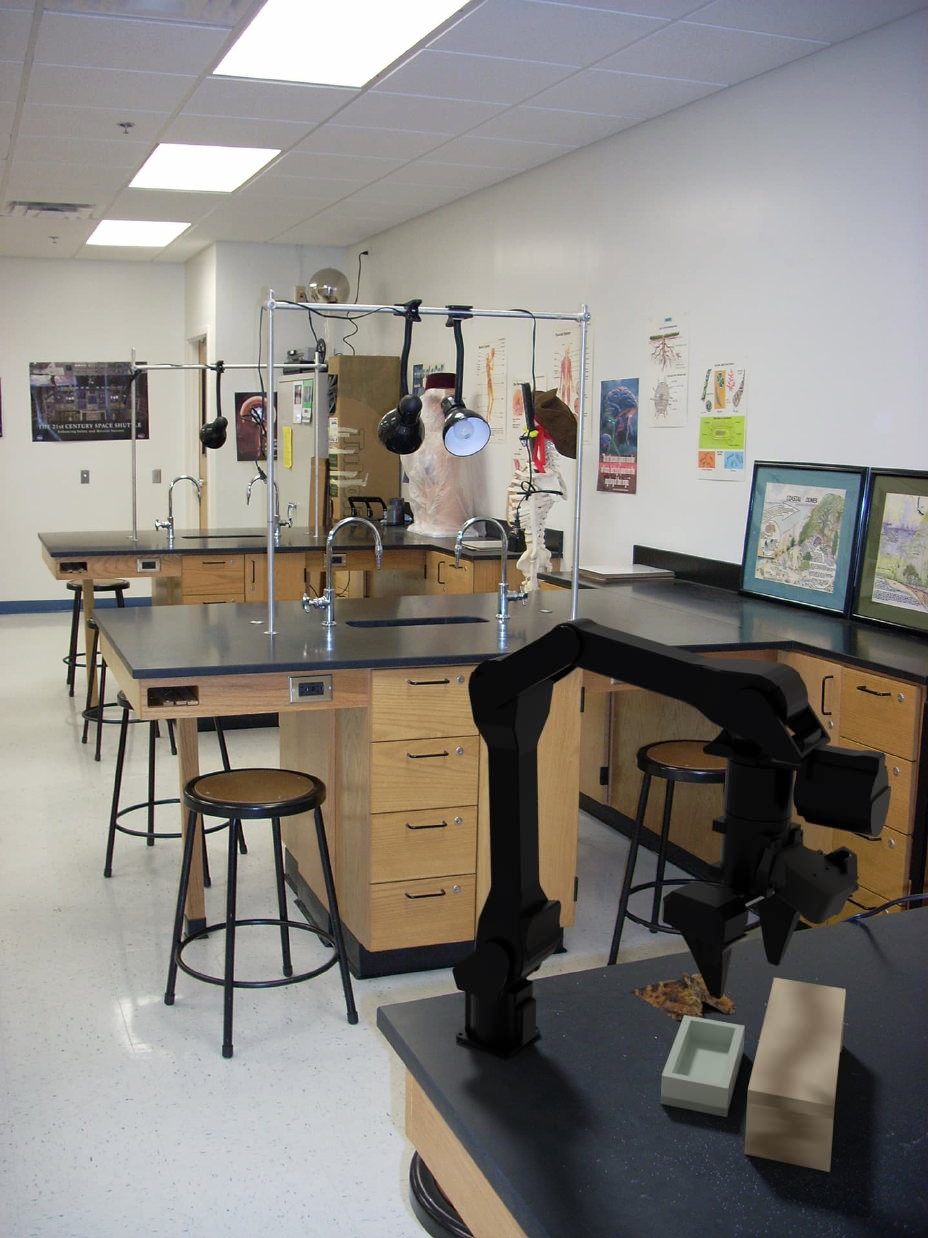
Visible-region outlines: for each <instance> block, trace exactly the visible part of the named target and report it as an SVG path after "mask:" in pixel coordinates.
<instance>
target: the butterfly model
mask: <svg viewBox="0 0 928 1238" xmlns="http://www.w3.org/2000/svg"><path fill="white" fill-rule="evenodd" d="M680 974H681V977H682V978H679V979H672V980H662V981H658V982H655V983H650V984H646V985H644V986H641V987H639V988H636V989H634V990H632V991H629V993H630V994H633V995H637V996H639V998H641V999H643V1000H644V1001H646V1002H647V1003H649V1004H651V1005H652V1007H655V1008H658V1009H660V1010H661V1011H662V1012H663V1013H665V1014H666V1015H667V1016H668V1017H670V1019H672V1020H675V1021H679V1022H680V1021H682V1020H683V1017H684V1015H687V1016H692V1017H698V1018H703V1019H704V1016H703V1013H702V1012H703V1009H702V1008H703V1003H702V1002H705V1003H707V1004H708V1005H710V1006H712V1007H713V1008H714V1009H716V1010H717V1009H718V1010H719V1011H720V1012H721V1013H723V1014H725V1015H734V1014H735V1013H736V1010H738V1007H737V1006H736V1005H735V1003H734V1002H733V1001H732V1000H731V999H730V998H728V997H727V996H726V995H725V993H724V994H723V997H722V998H721V999H716V998H714V997H712V996H710V994H709V992H708V990H707V988H706V985H705V983H704V981H703V979H702V976H701V974H700V973H694V974H692V975H690V973H688V972H687V971H686V972H682V971H681V972H680Z"/></svg>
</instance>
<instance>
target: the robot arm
mask: <svg viewBox="0 0 928 1238" xmlns="http://www.w3.org/2000/svg"><path fill="white" fill-rule="evenodd" d="M577 669H582V670H584V671H588V672H590V673H594V674H597V675H600V676H603V677H607V678H609V679H612V680H615V681H619V682H621V683H625V684H628V685H631V686H634V687H637V688H640V689H643V690H646V691H649V692H652V693H655V694H658V695H661V696H665V697H667V698H670V699H674V700H677V701H679V702H682V703H685V704H686V705H689V706H690V707H692V708H693V709H696V710H697V712H698V713H700V714H701V715H702V716H703V718H706V719H707V720H708V721H709V722H710V723H712V724H714V725H716V726H717V727H719V728H721V730H720V732H719V734H718V735H717V736H716V737H715V738H714V739H713V740H712V741H710V742H709V743H707V744H705V745H704V746H703V747H702V753H703V754H705V755H709V756H714V757H717V758H718V757H719V758H725V759H726V766H725V779H724V794H723V796H724V797H723V811H722V813H723V814H722V816H719V817H716V818H715V817H714V818H713V819H712V823H711V824H712V825H711V831H712V832H716V833H719V834H720V835H721V843H720V855H719V856H720V859H719V860H718V861H715V862H712V863H710V864H709V874H708V876H710V877H713V878H715V879H718V880H720V881H721V884H722V885H723V886H724V887H722V888H717V887H715V886H712V885H710V884H706V883H703V882H702V881H701V882H700V881H698V880H694V881H692V882H689V883H687V884H685V885H683V886H681V887H678V888H676V889H673V890H672V891H670V892H669V893H667V894H666V895H665V896H663V897H662V904H661V905H662V906H661V920H662V923H663V924H666V925H668V926H671V928H672V929H673V930H676V931H679V933H680V934H681V936H682V938H683V940H684V942H685V944H686V946H687V948H688V949H689V951H690V954H691V955H692V957H693V960H694V962H695V965H696V968H697V969H698V971H699V974H701V976H702V979H703V981H704V983H705V985H706V988H707V990H708V992H709V994H710V996H712V997H714V998H716V999H721V998H722V997H723V994H724V995H725V989H726V986H727V980H728V974H729V969H730V963H731V957H732V951H733V947H734V946H735V945H737V944H738V943H740V942H742V941H743V940H744V939H746V938H747V937H748V933H745V932H744V931H745V930H746V927H747V925H748V923H749V913H750V911H749V908H748V907H749V906H751V905H752V904H755V903H756V904H757V905H756V906H757V910H758V911H757V912H758V917H759V923H760V929H761V937H762V942H763V943H762V944H763V948H764V952H765V956H766V961H767V963H768V964H771V965H772V966H775V967H778V966H780V965H781V964H782V961H783V959H784V957H785V954H786V951H787V949H788V946H789V944H790V942H791V940H792V936H793V934H794V932H795V929H796V927H797V925H798V923H799V920H800V919H801V917H802V918H803V919H805V920H806V921H808V922H810V923H811V924H814V925H822V924H824V923H825V922H827V920H828V919H830V918H833V917H834V916H838V915H840V914H841V913H842V911H843V909H844V906H845V905H846V903H847V900H848V898H850V897H849V896H850V895H852V894H853V893H856V892H858V891H859V888H860V886H859V883H858V881H859V878H860V876H859V875H858V869H859V868H858V855H857V854H856V853H855V852H853V851H852V850H850V849H849V848H848V847H846V846H844V845H842V846H840V847H838V848H836V849H834V850H831V851H830V852H829V853H824V851H823V850H822V849H820V848H819V849H816V850H814V849H812V848H808V847H807V846H805V844H804V829H802V823H801V824H800V823H797V822H794V821H792V819H793V818H792V816H793V806H794V807H795V809H796V815H797V816H798V817H802V818H803V819H804V821H805V823H807V824H810V825H815V826H819V827H825V828H829V829H834V830H838V831H843V832H849V833H852V834H858V835H862V836H867V837H871V838H878V837H879V836H880V834H881V833H882V831H883V829H884V827H885V824H886V820H887V816H888V813H889V809H890V807H889V806H890V804H891V803H890V802H891V794H892V786H891V785H889V783H890V782H889V781H890V779H889V773H888V769H887V768H886V767H885V766H886V757H887V756H886V754H885V753H884V751H883V752H882V751H878V750H877V751H876V750H870V749H866V750H865V749H864V750H857V749H851V748H845V747H842V746H841V747H839V746H834V745H828V744H829V743H831V736H830V735H829V734H828V732H827V730H826V728H825V727H824V725H823V724H822V722H821V720H820V718H819V717H818V716H817V715H818V714H817V713H816V712H815V711H814V709H813V707H812V705H811V704H810V703H809V693H808V689H807V686H806V683H805V682H804V681H805V680H803V678H802V677H801V674H800V672H799V671H797V670H796V669H795V668H794V667H792V666H790V665H788V664H787V663H783V662H777V661H776V662H775V661H769V660H762V659H761V660H758V659H753V658H752V659H751V658H750V659H749V658H724V657H723V658H720V657H710V656H705V655H701V654H698V653H695V652H691V651H688V650H685V649H682V648H678V647H675V646H671V645H669V644H665V643H661V642H658V641H656V640H651V639H649V638H645V637H642V636H638V635H635V634H632V633H628V632H626V631H622V630H619V629H615V628H612V627H609V626H605V625H601V624H599V623H597V622H596V621H594V620H592V619H591V618H587V617H580V618H576V619H572V620H568V621H564V622H562V623H558V624H556V625H555V626H553V627H552V628H551V629H550V630H549V631H548V632H546V633H545V634H544V635H542V636H541V637H539V638H538V639H536V640H533V641H532V642H530V643H528V644H526V645H525V646H523V647H522V648H519V649H518V650H516V651H513V652H511V653H506V654H503V655H500V656H497V657H494V658H490V659H487V660H485V661H483V662H480V663H479V664H478V665H477V666H476V667H475V668H474V669H473V671H471V672H470V674H469V678H468V683H467V690H468V696H469V703H470V707H471V708H470V709H471V713H472V720H473V723H474V725H475V726H476V728H477V730H478V732H479V734H480V735H481V738H482V740H483V741H484V743H485V744H486V749H487V769H488V770H487V771H488V772H487V775H488V780H487V781H488V811H489V812H488V815H489V817H488V819H489V825H488V826H489V858H490V859H489V863H490V864H489V865H490V869H489V870H490V887H489V891H488V893H487V896H486V899H485V901H484V905H483V907H482V909H481V912H480V915H478V916H479V917H478V919H477V925H476V926H477V928H476V934H475V935H476V936H475V943H474V951H472V953H470V955H468V956H467V957H465V958H464V959H462V960H461V961H460V962H459V963H458V964H457V965H455V966H454V967H453V968H452V970H451V972H452V976H453V979H454V980H453V981H454V982H455V986H456V989H457V990H459V991H461V992H464V1027H463V1028H461V1029H460V1030H458V1031H457V1032H456V1033H455V1040H456V1041H459V1042H461V1043H465V1044H467V1045H470V1046H472V1047H476V1048H478V1049H480V1050H484V1051H486V1052H489V1053H491V1054H494V1055H496V1056H499V1057H502V1058H510V1057H512V1056H513V1055H514V1054H516V1053H517V1052H518V1051H519V1050H520V1049H522V1048H523V1047H524V1046H525V1045H527V1044H528V1043H530V1041H532V1040H533V1039H534V1038H536V1036H537V1037H538V1035H539V1034H540V1033H541V1027H540V1026H538V1025H537V999H536V998H535V997H534V996H533V995H534V982H533V980H530V979H528V977H529V976H531V975H532V974H533V973H535V972H538V971H539V970H540V969H541V967H542V964H543V962H544V961H546V960H547V959H548V958H549V957H551V956H552V954H553V953H555V951H556V949H557V947H558V946H557V945H558V942H559V941H560V940H561V939H563V938H564V934H563V932H562V928H561V922H560V921H561V912H562V902H561V901H560V900H557V899H549V898H548V897H547V894H546V892H545V891H544V889H543V888H542V886H541V882H540V881H541V880H540V845H539V844H540V840H539V839H540V837H539V833H540V832H539V829H540V827H539V776H538V774H539V773H538V768H539V767H538V744H539V741H540V738H541V735H542V733H543V731H544V729H545V726H546V724H547V721H548V718H549V717H550V712H551V706H552V698H553V692H554V685H555V684H557V683H558V682H560V681H562V680H563V679H565V678H567V677H568V676H569V675H571V673H573V672H574V671H576V670H577ZM788 730H789V731H791V732H792V733H793V734H792V735H791V734H790V732H789V731H788Z"/></svg>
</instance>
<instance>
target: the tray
mask: <svg viewBox="0 0 928 1238" xmlns="http://www.w3.org/2000/svg"><path fill="white" fill-rule="evenodd" d="M745 1027H746V1026H745V1025H744V1024H742V1025H741V1024H737V1023H730V1022H727V1021H726V1022H724V1021H720V1020H714V1019H707V1018H704V1017H703V1018H698V1017H692V1016H687V1015H684V1017H683V1020H681V1023H680V1026H679V1028H678V1031H677V1033H676V1036H675V1038H674V1041H673V1044H672V1047H671V1050H670V1052H669V1055H668V1058H667V1061H666V1062H665V1063H666V1064H665V1066H664V1068H663V1071H662V1074H661V1082H660V1083H661V1086H660V1089H661V1090H660V1104H661V1105H666V1106H671V1107H676V1108H681V1109H685V1110H690V1111H695V1112H700V1113H705V1114H710V1115H715V1116H719V1117H720V1116H721V1117H725V1118H727V1117H728V1113H729V1109H730V1105H731V1101H732V1098H733V1093H734V1089H735V1087H736V1082H737V1079H738V1075H739V1071H740V1066H741V1063H742V1059H743V1055H744V1049H745V1045H744V1044H745V1031H746V1030H745Z"/></svg>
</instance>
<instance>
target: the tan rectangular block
mask: <svg viewBox="0 0 928 1238" xmlns="http://www.w3.org/2000/svg"><path fill="white" fill-rule="evenodd" d="M846 991H847V989H846V988H841V987H836V986H835V987H834V986H829V985H821V984H816V983H809V982H804V981H798V980H790V979H785V978H781V977H780V978H779V977H773V981H772V985H771V990H770V993H769V998H768V1002H767V1006H766V1010H765V1011H766V1012H765V1015H764V1019H763V1022H762V1023H763V1024H762V1027H761V1032H760V1036H759V1041H758V1044H757V1049H756V1054H755V1058H754V1062H753V1066H752V1070H751V1074H750V1078H749V1084H748V1088H747V1097H746V1098H747V1102H746V1117H745V1118H746V1120H745V1137H744V1140H745V1141H744V1155H748V1156H753V1157H758V1158H763V1159H767V1160H770V1161H771V1160H773V1161H777V1162H781V1163H786V1164H791V1165H794V1166H800V1167H805V1168H807V1169H808V1168H810V1169H815V1170H817V1171H818V1170H819V1171H823V1172H828V1173H830V1172H831V1164H832V1163H831V1161H832V1147H833V1145H832V1144H833V1131H834V1118H835V1117H834V1115H835V1104H836V1103H835V1102H836V1096H837V1095H836V1094H837V1093H836V1092H837V1085H838V1084H837V1083H838V1076H839V1075H838V1074H839V1064H840V1053H842V1050H843V1036H844V1027H845V1025H844V1023H845V1010H846V1009H845V1007H846V994H847V993H846Z"/></svg>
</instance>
